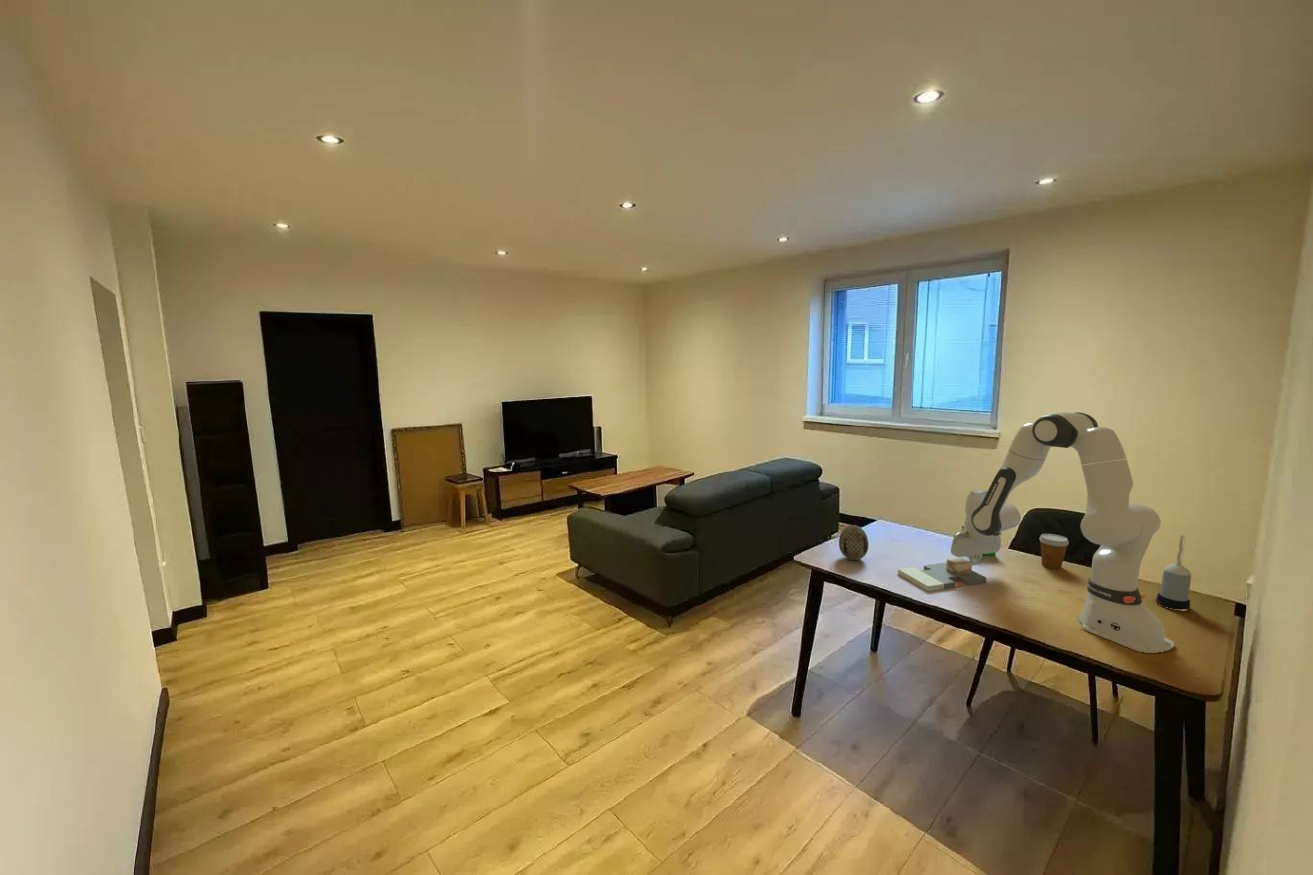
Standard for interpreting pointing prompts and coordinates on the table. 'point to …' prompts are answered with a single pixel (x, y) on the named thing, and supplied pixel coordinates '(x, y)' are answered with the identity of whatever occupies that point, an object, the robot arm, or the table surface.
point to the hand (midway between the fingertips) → (974, 564)
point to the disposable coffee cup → (1053, 550)
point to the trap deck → (939, 577)
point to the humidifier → (1175, 584)
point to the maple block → (959, 565)
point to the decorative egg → (853, 542)
